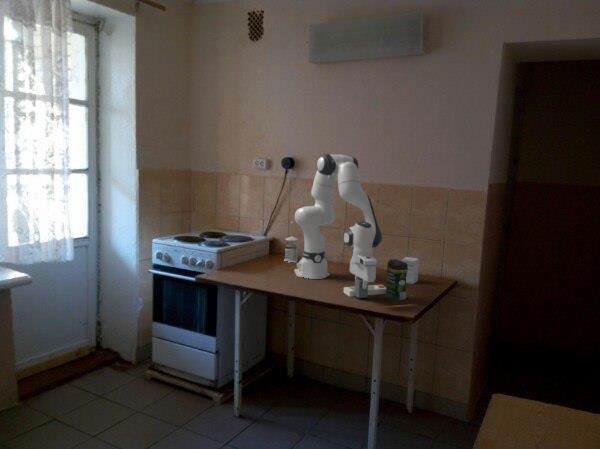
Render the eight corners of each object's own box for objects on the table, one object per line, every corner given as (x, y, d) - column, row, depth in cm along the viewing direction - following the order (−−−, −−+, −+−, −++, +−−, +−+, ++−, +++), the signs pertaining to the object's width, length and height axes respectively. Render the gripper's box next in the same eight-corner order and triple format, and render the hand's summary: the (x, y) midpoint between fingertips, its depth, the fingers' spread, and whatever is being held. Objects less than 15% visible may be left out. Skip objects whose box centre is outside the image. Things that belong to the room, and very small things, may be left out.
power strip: (343, 294, 235) (343, 285, 234) (380, 291, 241) (380, 283, 241) (349, 298, 228) (349, 289, 228) (387, 295, 235) (387, 287, 234)
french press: (292, 258, 312) (293, 219, 309) (304, 261, 304) (305, 222, 300) (280, 260, 306) (281, 220, 303) (291, 263, 297) (292, 223, 294)
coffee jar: (382, 296, 233) (384, 258, 230) (396, 295, 236) (398, 257, 234) (394, 302, 224) (396, 263, 222) (408, 300, 228) (411, 261, 225)
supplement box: (404, 279, 268) (406, 256, 266) (417, 281, 264) (419, 258, 262) (400, 281, 262) (401, 258, 260) (413, 284, 258) (415, 260, 256)
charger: (354, 295, 227) (355, 278, 226) (363, 294, 229) (363, 277, 228) (358, 298, 223) (359, 280, 222) (367, 297, 225) (368, 280, 224)
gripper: (346, 253, 232) (345, 281, 234) (366, 262, 213) (364, 293, 215) (359, 252, 234) (357, 280, 236) (379, 261, 215) (377, 292, 217)
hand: (361, 286), depth 225 cm, fingers closed on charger, 4 cm apart
